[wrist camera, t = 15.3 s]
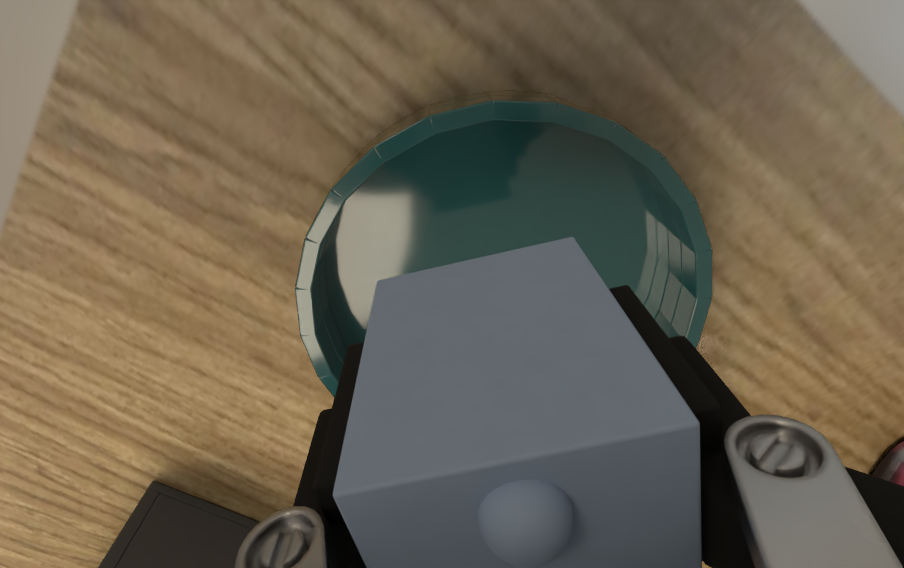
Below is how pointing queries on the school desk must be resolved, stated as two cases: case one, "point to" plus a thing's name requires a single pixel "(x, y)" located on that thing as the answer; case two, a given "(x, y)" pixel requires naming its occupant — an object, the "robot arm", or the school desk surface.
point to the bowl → (500, 212)
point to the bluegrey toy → (516, 425)
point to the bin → (178, 533)
